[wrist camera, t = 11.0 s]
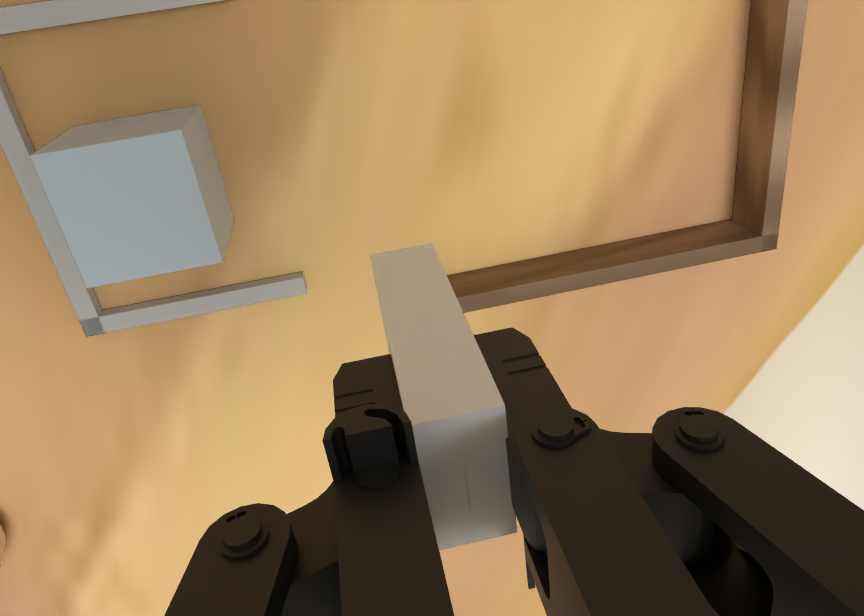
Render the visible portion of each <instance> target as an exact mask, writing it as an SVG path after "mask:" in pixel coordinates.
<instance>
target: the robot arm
mask: <svg viewBox="0 0 864 616" xmlns="http://www.w3.org/2000/svg"><path fill="white" fill-rule="evenodd" d="M370 257H371V262H372V267H373V273H374V278H375V283H376V288H377V293H378V298H379V304H380V309H381V314H382V319H383V324H384V330H385V335H386V340H387V345H388V350H389V354H388V355H383V356H378V357H373V358H368V359H364V360H359V361H354V362H349V363H344V364H342V365H341V367H340V369H339V371H338V372H337V374H336V376H335V378H334V379H333V389H334V399H335V400H334V404H335V413H336V414H335V418H334V420H333V421H332V422H331V423H330V424H329V426H328V427H327V428H326V429H325V433H324V437H323V444H324V447H325V451H326V455H327V458H328V462H329V466H330V469H331V473H332V477H333V480H334V481H333V482H332V484H331V485H330V486H329V487H328V489H327V490H326V491H325V492H324V493H322V494H321V495H320V496H319V497H318V498H317V499H315V500H313V501H312V502H310V503H308V504H307V505H305V506H303V507H301V508H299V509H297V510H295V511H293V512H291V513H288V514H286V513H285V512H284V511H282V510H281V509H279V508H277V507H276V506H274V505H268V504H259V503H257V504H252V505H247V506H241V507H239V508H237V509H235V510H233V511H230V512H228V513H226V514H224V515H223V516H222V517H220V518H219V519H218V520H217V521H215V522H214V523H213V524H212V525H210V526H209V528H208V529H207V531H206V532H205V534H204V535H203V536H202V538H201V539H200V541H199V543H198V545H197V547H196V549H195V552H194V554H193V556H192V558H191V560H190V562H189V564H188V567H187V569H186V571H185V573H184V575H183V577H182V579H181V581H180V584H179V586H178V588H177V590H176V592H175V594H174V596H173V599H172V601H171V603H170V605H169V607H168V609H167V611H166V613H165V616H454V613H453V609H452V604H451V600H450V596H449V591H448V587H447V583H446V578H445V574H444V570H443V565H442V561H441V557H440V552H439V550H443V549H447V548H451V547H456V546H460V545H464V544H469V543H473V542H477V541H482V540H486V539H490V538H495V537H499V536H503V535H508V534H512V533H516V532H517V525H516V516H517V519H518V521H519V524H520V527H521V529H522V532H523V535H524V547H525V558H526V569H527V580H528V588H529V589H532V588H535V584H536V587H537V590H538V593H539V595H540V598H541V601H542V603H543V606H544V609H545V612H546V614H547V616H864V510H862V509H861V508H859V507H858V506H856V505H855V504H854V503H852V502H851V501H849V500H848V499H846V498H845V497H844V496H842V495H841V494H839V493H838V492H836V491H835V490H834V489H832V488H831V487H829V486H828V485H826V484H825V483H823V482H822V481H821V480H819V479H818V478H816V477H815V476H814V475H812V474H811V473H809V472H808V471H806V470H805V469H803V468H802V467H801V466H799V465H798V464H796V463H795V462H793V461H792V460H791V459H789V458H788V457H786V456H785V455H783V454H782V453H781V452H779V451H778V450H776V449H775V448H774V447H772V446H770V445H769V444H768V443H766V442H765V441H763V440H762V439H761V438H759V437H758V436H756V435H755V434H753V433H752V432H751V431H749V430H748V429H746V428H745V427H743V426H742V425H741V424H739V423H738V422H736V421H735V420H733V419H732V418H729V417H728V416H726V415H724V414H722V413H720V412H718V411H713V410H709V409H705V408H699V407H683V408H679V409H675V410H671V411H668V412H666V413H665V414H663V415H662V416H660V417H659V418H657V420H656V422H655V424H654V426H653V428H652V433H620V432H610V431H606V430H602V429H599V427H598V426H597V424H596V423H595V422H594V421H593V420H592V419H591V418H590V417H589V416H588V415H586V414H583V413H581V412H579V411H577V410H575V409H572V408H571V406H570V404H569V403H568V401H567V399H566V398H565V396H564V394H563V393H562V391H561V389H560V388H559V386H558V384H557V383H556V381H555V379H554V378H553V376H552V374H551V373H550V371H549V369H548V368H546V364H545V363H544V361H543V359H542V358H541V356H539V353H538V351H537V349H536V348H535V346H534V344H533V343H532V341H531V339H530V338H529V337H527V336H526V335H524V334H522V333H521V332H519V331H517V330H516V329H514V328H513V327H512V328H507V329H502V330H497V331H493V332H488V333H483V334H478V335H473V333H472V331H471V329H470V326H469V324H468V322H467V320H466V318H465V315H464V313H463V311H462V309H461V306H460V304H459V302H458V300H457V298H456V295H455V293H454V291H453V289H452V287H451V284H450V282H449V280H448V278H447V275H446V273H445V271H444V269H443V267H442V264H441V262H440V260H439V258H438V256H437V253H436V251H435V249H434V247H433V244H427V245H421V246H416V247H411V248H405V249H400V250H395V251H390V252H384V253H379V254H374V255H370ZM515 513H516V514H515Z"/></svg>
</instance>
